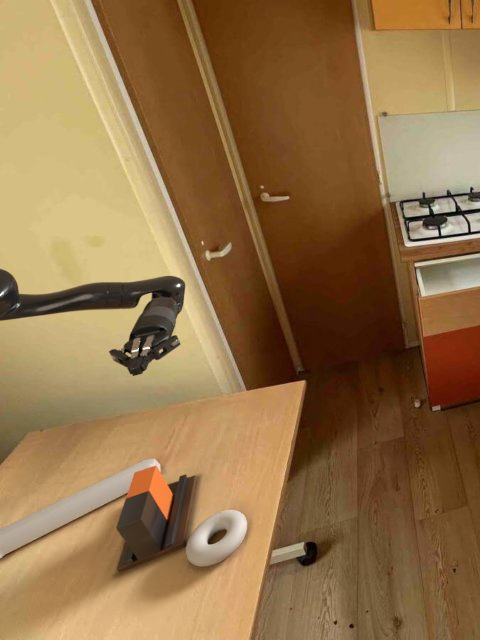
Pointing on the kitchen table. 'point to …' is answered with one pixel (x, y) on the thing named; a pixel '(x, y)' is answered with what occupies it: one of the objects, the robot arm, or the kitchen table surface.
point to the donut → (212, 554)
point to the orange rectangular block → (153, 488)
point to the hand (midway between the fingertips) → (135, 371)
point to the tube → (69, 508)
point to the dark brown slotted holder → (154, 524)
